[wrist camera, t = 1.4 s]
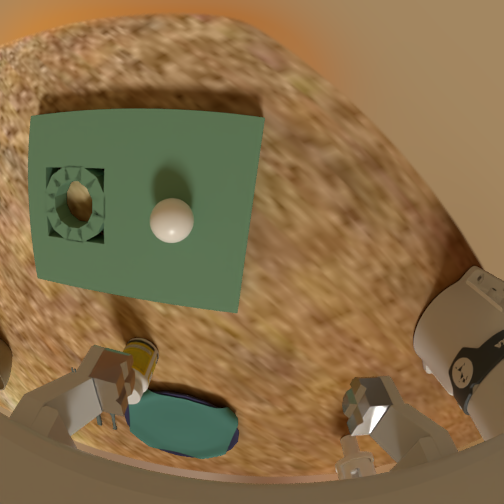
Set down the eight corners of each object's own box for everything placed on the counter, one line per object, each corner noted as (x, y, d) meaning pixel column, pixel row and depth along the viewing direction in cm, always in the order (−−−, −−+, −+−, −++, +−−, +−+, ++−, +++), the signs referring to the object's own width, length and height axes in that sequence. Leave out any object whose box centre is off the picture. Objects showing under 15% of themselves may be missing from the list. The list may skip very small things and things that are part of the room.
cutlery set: (227, 457, 48) (226, 466, 45) (84, 417, 45) (80, 424, 43) (252, 400, 41) (252, 411, 39) (70, 348, 39) (63, 356, 36)
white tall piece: (371, 427, 45) (392, 491, 31) (356, 446, 47) (372, 506, 33) (338, 429, 44) (354, 498, 30) (325, 448, 47) (337, 512, 33)
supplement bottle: (121, 338, 36) (99, 380, 28) (150, 334, 36) (131, 378, 28) (136, 364, 38) (118, 406, 30) (164, 361, 38) (150, 406, 30)
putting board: (263, 119, 27) (264, 117, 24) (238, 301, 34) (237, 313, 32) (43, 116, 25) (31, 116, 23) (47, 270, 33) (37, 278, 30)
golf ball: (199, 196, 27) (190, 206, 23) (195, 237, 28) (187, 252, 25) (158, 192, 27) (144, 201, 23) (156, 232, 28) (143, 246, 24)
